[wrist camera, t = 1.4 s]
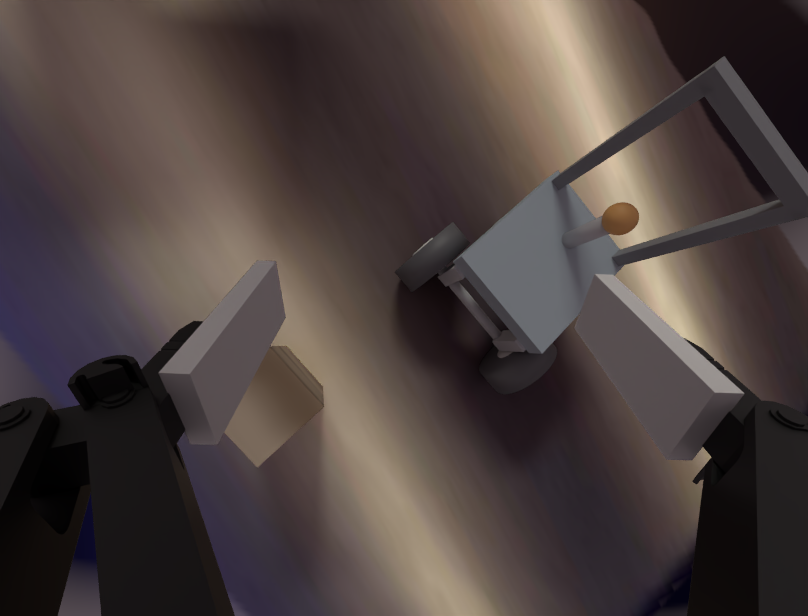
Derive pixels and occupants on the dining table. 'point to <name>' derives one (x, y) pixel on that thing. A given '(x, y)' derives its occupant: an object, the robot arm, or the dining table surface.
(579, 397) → the dining table surface
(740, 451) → the robot arm
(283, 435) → the block
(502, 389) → the trolley
